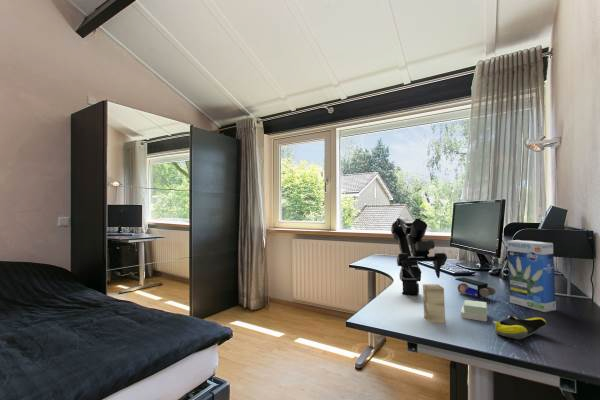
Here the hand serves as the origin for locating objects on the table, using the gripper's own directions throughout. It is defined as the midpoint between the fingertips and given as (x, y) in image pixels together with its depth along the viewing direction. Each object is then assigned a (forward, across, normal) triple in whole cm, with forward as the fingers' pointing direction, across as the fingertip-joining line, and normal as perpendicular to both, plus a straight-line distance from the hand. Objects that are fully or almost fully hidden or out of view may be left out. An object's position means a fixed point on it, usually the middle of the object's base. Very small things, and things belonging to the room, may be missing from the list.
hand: (426, 277), depth 114 cm
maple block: (+15, 0, +3) cm, 16 cm away
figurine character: (-4, +27, +24) cm, 36 cm away
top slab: (+11, +16, +5) cm, 20 cm away
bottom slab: (+13, +15, +7) cm, 21 cm away
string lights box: (+4, +43, +15) cm, 46 cm away
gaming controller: (+24, +20, -6) cm, 32 cm away
